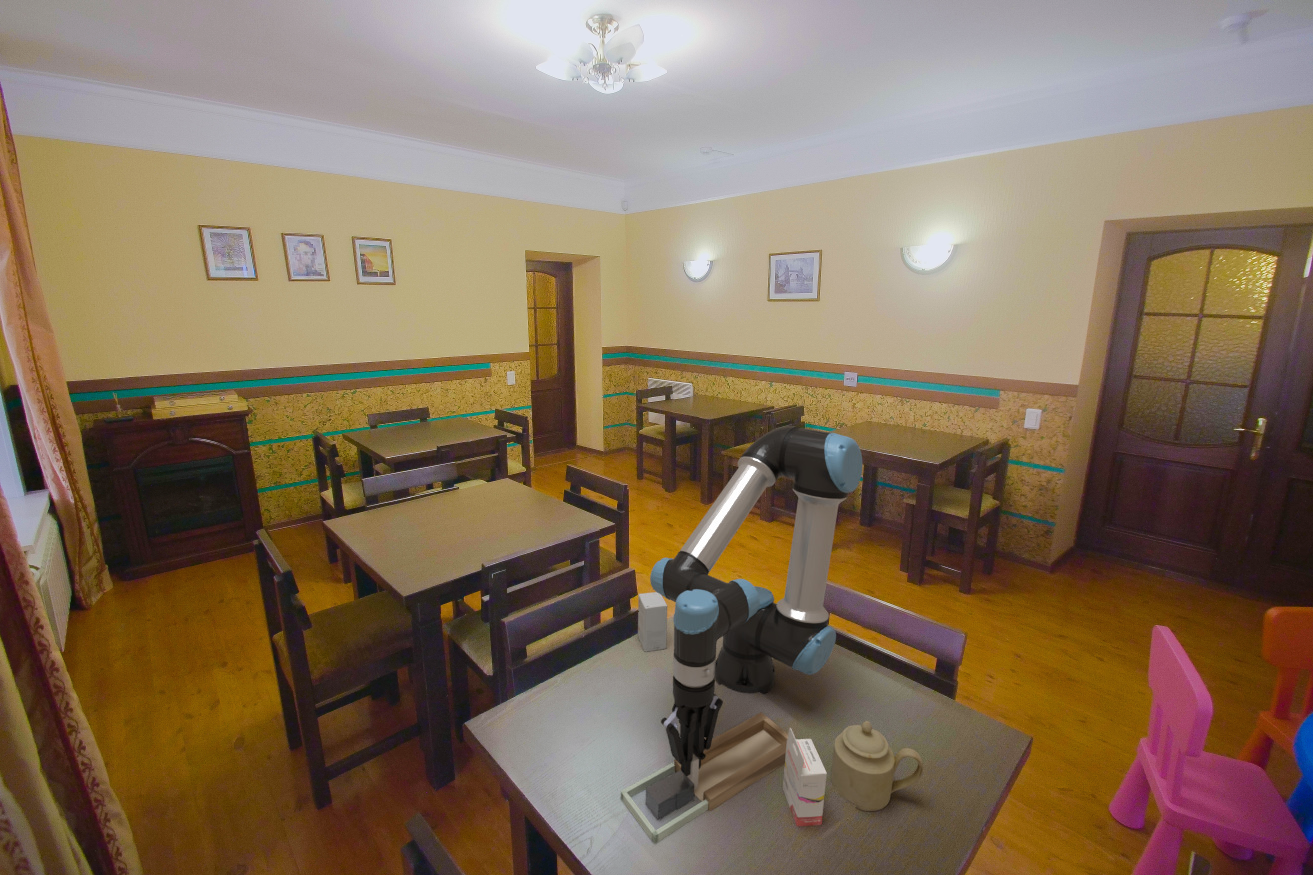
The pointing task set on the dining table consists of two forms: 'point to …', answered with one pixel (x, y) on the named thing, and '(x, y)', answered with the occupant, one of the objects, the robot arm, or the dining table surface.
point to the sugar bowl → (868, 767)
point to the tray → (652, 833)
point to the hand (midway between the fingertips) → (690, 784)
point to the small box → (652, 621)
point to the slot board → (739, 759)
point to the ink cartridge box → (804, 781)
